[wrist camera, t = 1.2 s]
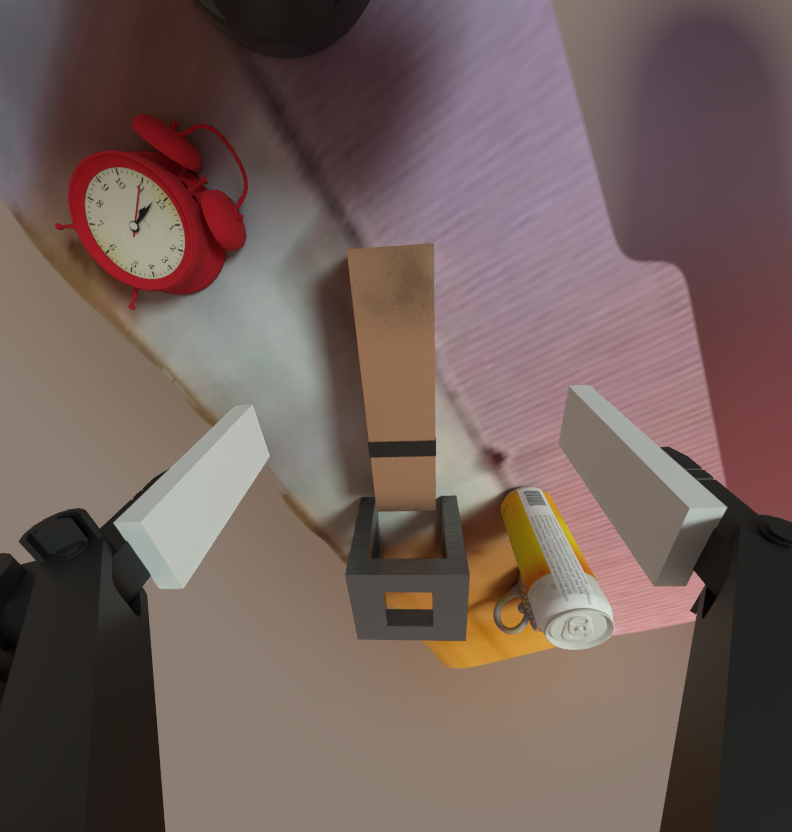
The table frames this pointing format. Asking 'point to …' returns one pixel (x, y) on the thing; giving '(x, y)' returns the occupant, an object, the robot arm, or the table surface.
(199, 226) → the alarm clock
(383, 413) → the banded wooden beam
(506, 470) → the table surface
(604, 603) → the yellow can
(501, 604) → the mug
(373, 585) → the collar block
